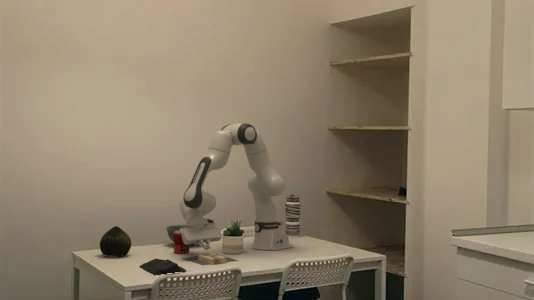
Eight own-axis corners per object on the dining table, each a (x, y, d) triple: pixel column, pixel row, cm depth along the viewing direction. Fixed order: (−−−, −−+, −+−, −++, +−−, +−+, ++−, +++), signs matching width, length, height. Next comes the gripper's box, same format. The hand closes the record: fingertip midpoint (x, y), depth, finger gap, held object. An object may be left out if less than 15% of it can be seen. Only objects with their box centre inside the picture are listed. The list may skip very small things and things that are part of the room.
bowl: (159, 244, 345) (159, 225, 345) (194, 241, 357) (194, 223, 356) (176, 250, 328) (176, 230, 328) (211, 246, 339) (212, 228, 339)
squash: (111, 249, 298) (126, 223, 307) (89, 247, 306) (104, 221, 315) (128, 265, 307) (142, 239, 316) (106, 263, 315) (120, 238, 324)
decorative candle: (288, 237, 372) (288, 195, 372) (282, 235, 381) (283, 193, 381) (302, 237, 375) (303, 194, 375) (296, 234, 384) (297, 193, 384)
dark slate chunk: (168, 264, 295) (168, 254, 295) (188, 273, 276) (188, 262, 276) (136, 267, 287) (136, 257, 287) (154, 277, 268) (154, 266, 268)
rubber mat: (216, 254, 317) (216, 253, 317) (238, 261, 301) (239, 260, 301) (181, 258, 306) (181, 258, 306) (202, 266, 290) (202, 265, 290)
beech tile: (212, 253, 305) (226, 257, 295) (212, 258, 305) (226, 262, 296) (198, 255, 300) (211, 259, 291) (198, 260, 300) (211, 264, 291)
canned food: (183, 255, 314) (183, 233, 314) (170, 253, 318) (170, 231, 318) (192, 253, 321) (192, 231, 320) (180, 251, 325) (180, 230, 324)
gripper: (180, 223, 301) (190, 247, 293) (217, 220, 313) (228, 242, 306) (175, 231, 305) (186, 255, 297) (212, 228, 317) (222, 250, 309)
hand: (207, 248), depth 302 cm, fingers closed
